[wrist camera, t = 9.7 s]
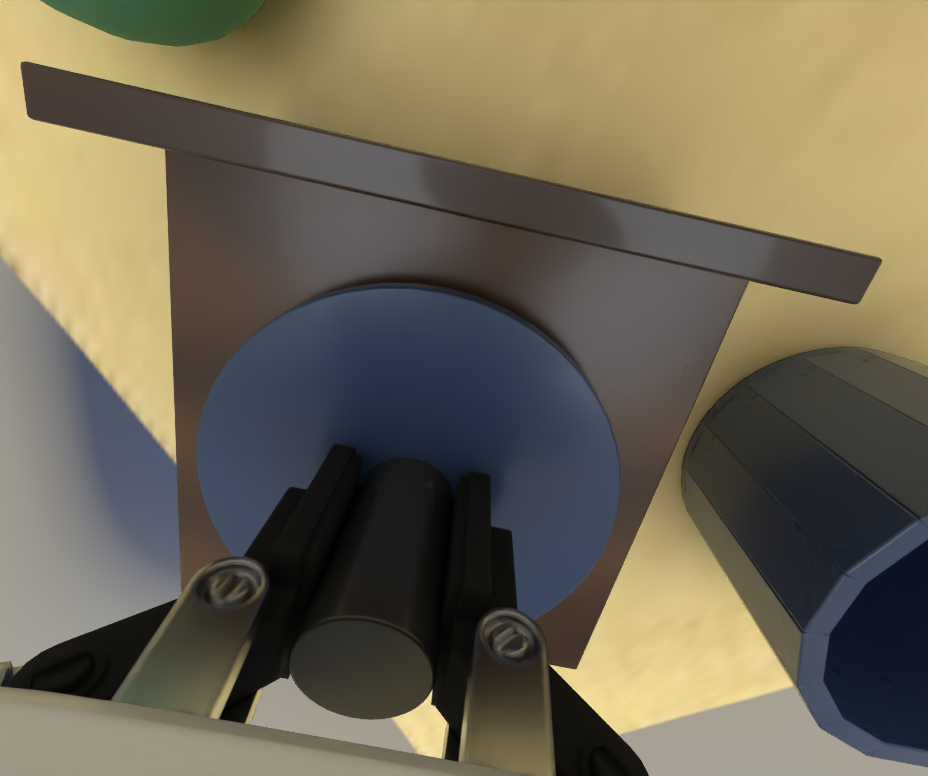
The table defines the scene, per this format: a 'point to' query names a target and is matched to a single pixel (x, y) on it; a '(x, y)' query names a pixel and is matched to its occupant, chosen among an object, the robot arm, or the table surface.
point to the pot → (828, 533)
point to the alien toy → (161, 18)
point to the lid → (408, 469)
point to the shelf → (438, 275)
